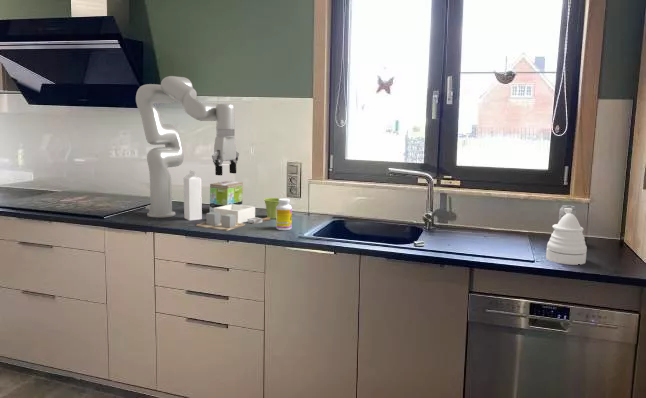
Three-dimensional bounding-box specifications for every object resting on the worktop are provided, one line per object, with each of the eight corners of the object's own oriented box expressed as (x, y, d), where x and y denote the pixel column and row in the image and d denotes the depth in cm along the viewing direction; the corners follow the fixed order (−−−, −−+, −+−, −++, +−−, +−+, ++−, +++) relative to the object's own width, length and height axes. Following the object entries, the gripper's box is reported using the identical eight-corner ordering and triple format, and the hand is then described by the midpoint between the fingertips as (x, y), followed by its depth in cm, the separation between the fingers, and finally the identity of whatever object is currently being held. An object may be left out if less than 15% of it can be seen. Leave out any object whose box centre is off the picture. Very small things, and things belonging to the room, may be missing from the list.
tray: (196, 227, 231) (196, 224, 231) (215, 221, 242) (215, 219, 242) (226, 231, 224) (226, 229, 223) (245, 226, 235) (245, 223, 235)
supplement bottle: (292, 230, 228) (292, 200, 226) (276, 231, 227) (276, 200, 225) (290, 227, 235) (291, 198, 233) (275, 227, 234) (275, 198, 232)
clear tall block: (553, 241, 220) (556, 204, 218) (566, 241, 222) (569, 204, 219) (563, 245, 214) (566, 207, 212) (576, 244, 216) (580, 207, 213)
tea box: (227, 216, 257) (227, 185, 254) (209, 214, 260) (208, 183, 258) (243, 211, 270) (243, 181, 268) (225, 209, 274) (225, 180, 272)
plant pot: (267, 215, 261) (267, 197, 259) (286, 216, 259) (286, 198, 257) (261, 218, 252) (261, 200, 250) (280, 220, 250) (281, 201, 248)
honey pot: (541, 254, 199) (545, 205, 196) (577, 255, 198) (582, 207, 195) (552, 263, 187) (557, 212, 184) (591, 265, 186) (596, 213, 183)
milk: (189, 221, 243) (188, 172, 239) (184, 218, 247) (183, 170, 244) (202, 219, 246) (201, 171, 243) (196, 217, 251) (195, 170, 247)
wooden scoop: (253, 224, 238) (253, 220, 238) (247, 223, 241) (247, 218, 241) (272, 221, 247) (272, 217, 246) (266, 219, 249) (266, 215, 249)
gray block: (221, 226, 230) (221, 215, 229) (227, 225, 234) (227, 213, 233) (229, 228, 228) (229, 216, 228) (235, 226, 232) (235, 215, 231)
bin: (213, 221, 244) (213, 208, 243) (231, 216, 255) (231, 204, 254) (237, 224, 238) (237, 211, 237) (255, 219, 249) (255, 206, 248)
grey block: (206, 224, 234) (206, 213, 233) (212, 223, 237) (212, 211, 237) (214, 225, 232) (214, 214, 231) (220, 224, 235) (220, 213, 235)
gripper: (230, 132, 237) (231, 172, 240) (205, 133, 222) (205, 175, 225) (244, 133, 234) (245, 173, 236) (220, 134, 219) (220, 176, 221)
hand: (226, 174), depth 230 cm, fingers open, 9 cm apart
